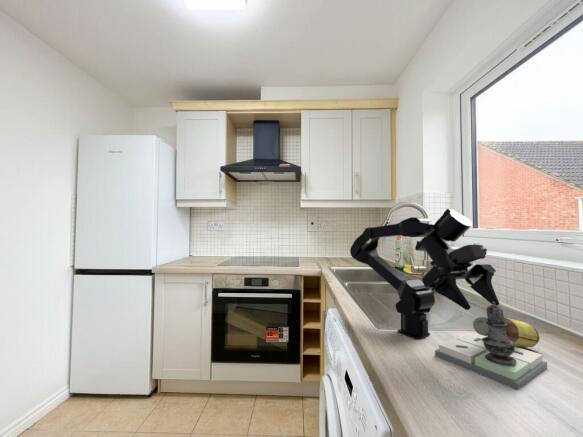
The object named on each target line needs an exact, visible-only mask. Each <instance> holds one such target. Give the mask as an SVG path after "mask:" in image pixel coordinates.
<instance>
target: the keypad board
mask: <svg viewBox="0 0 583 437" xmlns="http://www.w3.org/2000/svg"><path fill="white" fill-rule="evenodd" d="M484 337H485V336H483V335H480V334H475V333H472V332H468V333H465V334H463V335H460V336H457V337H455V338H452V339H449V340H447V341H444V342H442V343H440V344H438V349H436V350H434V356H435V357H437V358H440V359H443V360H444V361H447V362H449V363H451V364H454V365H456V366H459V367H462V368H463V369H466V370H469V371H471V372H474V373H475V374H478V375H481V376H484V377H486V378H488V379H490V380H493V381H496V382H497V383H500V384H503V385H504V386H508V387H510V388H512V389H515V390H521V388H523V387H524V386H525V385H527V384H528V383H529V382H530V381H532V380H533V379H534V378H536V377H537V376H538V375H539V374H541V373H542V372H544V370H546V369H547V368H548V361H545V360H543V354H540V353H537V352H534V351H530V350H527V349H525V348H522V347H519V346H515V350H514V353H513V354H511V355H510V356H511V357H512V358H514V359H517V360H520V361H523V362H526V363H529V371H528V372H527V373H525V374H524V375H523V376H521V377H520V378H518V379H517V380H512V379H509V378H507V377H504V376H502V375H499V374H497V373H494V372H492V371H489V370H487V369H484V368H481V367H479V366H476V365H475V357H477V356H479V355H481V354H483V353H485V352H487V351H488V350H487V349H486V348H485V346H484V342H483V341H482V338H484Z"/></svg>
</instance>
